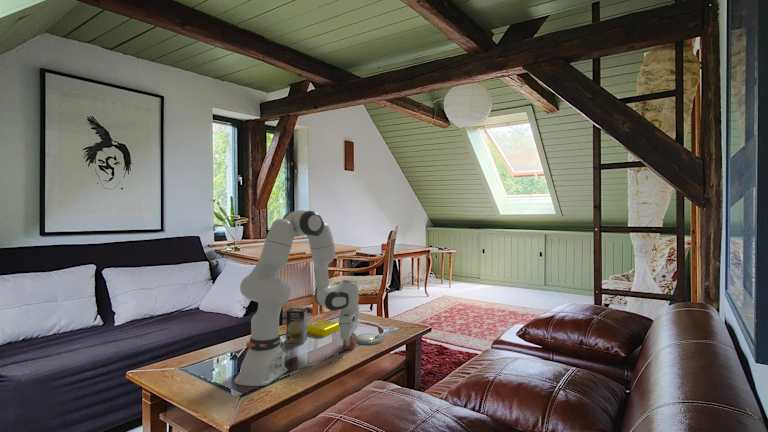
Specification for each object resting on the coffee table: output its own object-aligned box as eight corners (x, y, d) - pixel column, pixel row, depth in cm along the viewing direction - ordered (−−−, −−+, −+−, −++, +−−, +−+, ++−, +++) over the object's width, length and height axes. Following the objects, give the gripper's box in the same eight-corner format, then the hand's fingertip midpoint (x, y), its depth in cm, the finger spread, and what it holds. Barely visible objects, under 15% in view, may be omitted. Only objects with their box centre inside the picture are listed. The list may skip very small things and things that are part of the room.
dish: (380, 345, 204) (380, 343, 204) (352, 343, 206) (352, 341, 206) (384, 336, 218) (384, 334, 218) (358, 334, 220) (358, 332, 220)
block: (353, 349, 198) (353, 336, 198) (343, 348, 199) (343, 336, 199) (355, 345, 203) (355, 333, 203) (345, 345, 204) (345, 333, 204)
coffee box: (285, 343, 207) (285, 311, 206) (289, 339, 213) (289, 307, 213) (303, 344, 206) (303, 311, 205) (307, 339, 212) (307, 308, 212)
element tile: (323, 338, 216) (323, 329, 216) (301, 333, 223) (301, 324, 223) (340, 330, 229) (340, 321, 229) (318, 326, 236) (318, 317, 236)
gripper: (348, 308, 211) (348, 335, 212) (337, 319, 191) (337, 349, 192) (360, 309, 210) (360, 336, 211) (351, 320, 190) (351, 350, 191)
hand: (349, 342), depth 201 cm, fingers closed on block, 5 cm apart
